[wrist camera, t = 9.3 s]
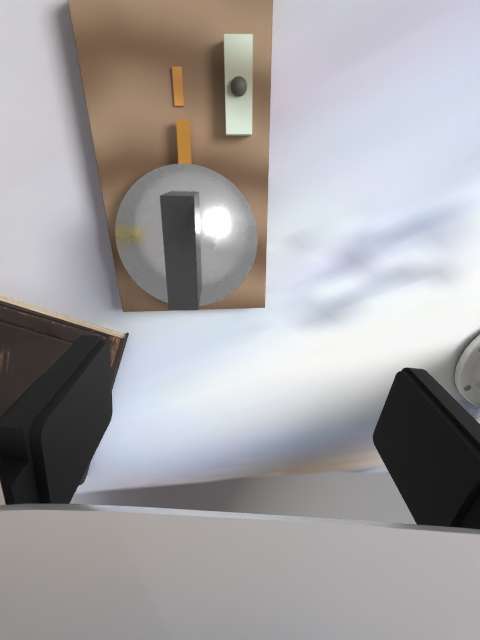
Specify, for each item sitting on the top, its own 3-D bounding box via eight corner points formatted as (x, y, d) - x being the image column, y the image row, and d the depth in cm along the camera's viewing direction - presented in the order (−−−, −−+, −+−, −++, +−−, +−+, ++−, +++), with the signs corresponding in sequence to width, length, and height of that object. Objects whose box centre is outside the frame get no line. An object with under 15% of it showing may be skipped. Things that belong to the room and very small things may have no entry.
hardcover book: (-41, 443, 40) (-56, 458, 38) (-29, 280, 32) (-47, 288, 30) (88, 472, 44) (81, 487, 41) (130, 331, 35) (125, 340, 33)
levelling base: (262, 300, 34) (267, 315, 30) (128, 304, 33) (117, 319, 30) (269, -1, 24) (277, -31, 20) (76, -4, 23) (51, -36, 20)
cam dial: (253, 301, 31) (261, 333, 25) (129, 301, 31) (105, 334, 24) (260, 123, 25) (274, 107, 19) (105, 118, 24) (64, 99, 18)
